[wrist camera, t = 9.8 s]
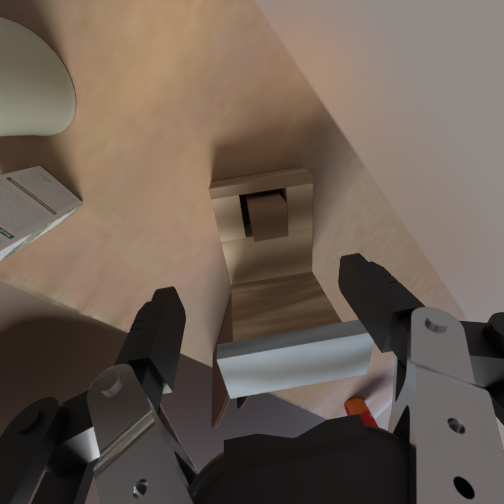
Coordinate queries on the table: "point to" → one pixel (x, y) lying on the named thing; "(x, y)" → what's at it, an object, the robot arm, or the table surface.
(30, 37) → the can
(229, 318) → the letter holder
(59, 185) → the syrup box
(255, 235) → the peg
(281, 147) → the table surface
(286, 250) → the socket stand
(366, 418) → the paper cup
